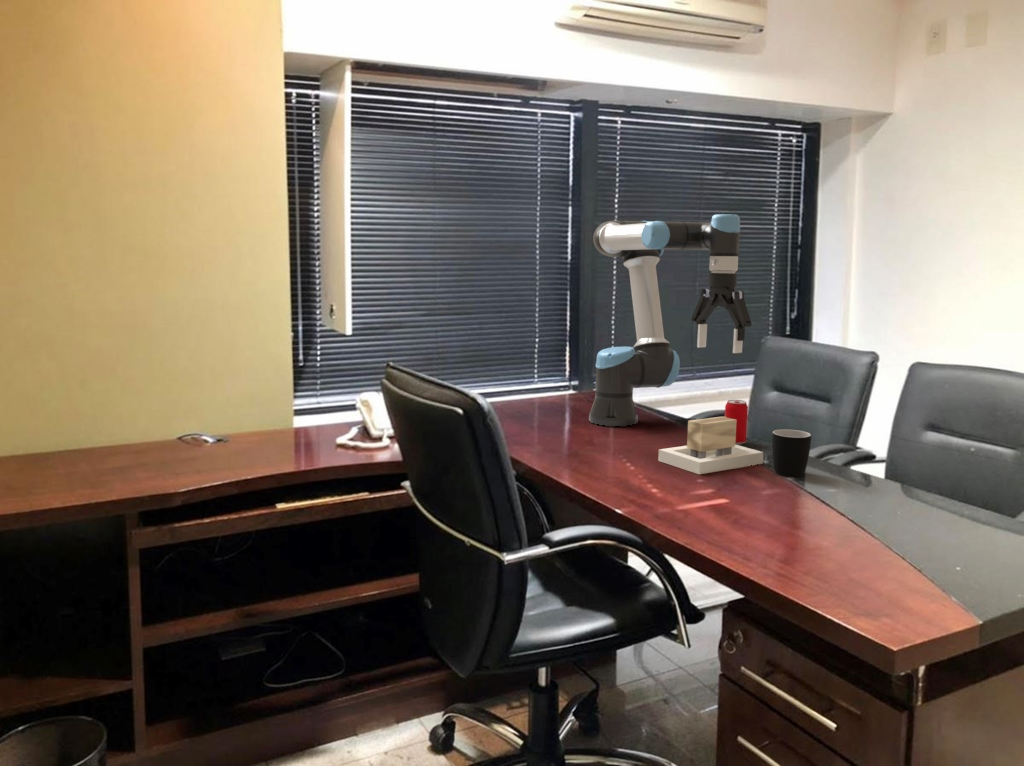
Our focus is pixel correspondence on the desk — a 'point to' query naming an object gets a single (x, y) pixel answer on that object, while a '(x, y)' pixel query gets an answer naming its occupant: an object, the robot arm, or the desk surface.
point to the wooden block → (711, 433)
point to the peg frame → (710, 458)
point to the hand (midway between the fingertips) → (719, 350)
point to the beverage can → (738, 418)
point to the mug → (790, 451)
